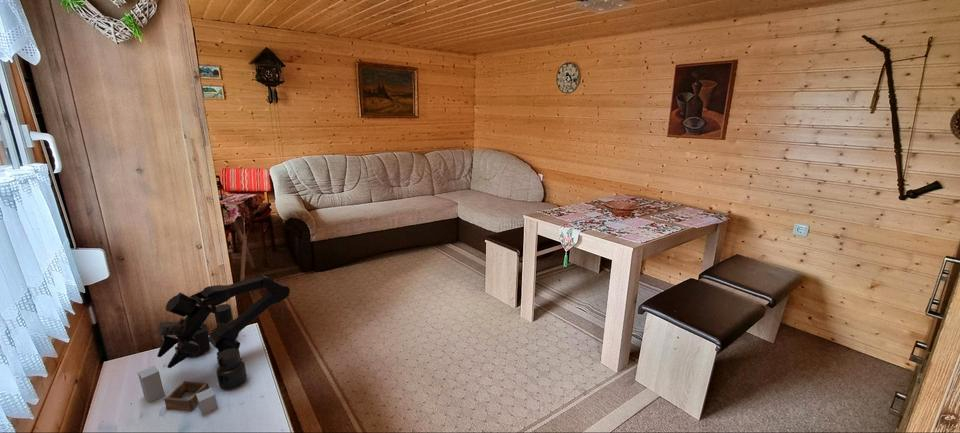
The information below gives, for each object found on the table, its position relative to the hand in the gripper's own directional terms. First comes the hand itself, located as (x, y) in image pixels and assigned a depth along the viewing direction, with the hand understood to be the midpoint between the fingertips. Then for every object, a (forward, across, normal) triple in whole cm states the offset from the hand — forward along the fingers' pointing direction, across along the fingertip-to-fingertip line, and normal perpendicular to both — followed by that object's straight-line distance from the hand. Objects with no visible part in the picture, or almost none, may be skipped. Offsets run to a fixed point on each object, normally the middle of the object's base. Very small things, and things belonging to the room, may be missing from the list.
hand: (163, 362), depth 139 cm
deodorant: (-10, -15, +26) cm, 32 cm away
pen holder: (-2, -16, +18) cm, 24 cm away
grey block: (+5, +20, +11) cm, 23 cm away
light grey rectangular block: (+11, 0, +5) cm, 12 cm away
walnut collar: (+7, +11, +9) cm, 16 cm away
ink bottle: (-3, +14, +19) cm, 23 cm away
